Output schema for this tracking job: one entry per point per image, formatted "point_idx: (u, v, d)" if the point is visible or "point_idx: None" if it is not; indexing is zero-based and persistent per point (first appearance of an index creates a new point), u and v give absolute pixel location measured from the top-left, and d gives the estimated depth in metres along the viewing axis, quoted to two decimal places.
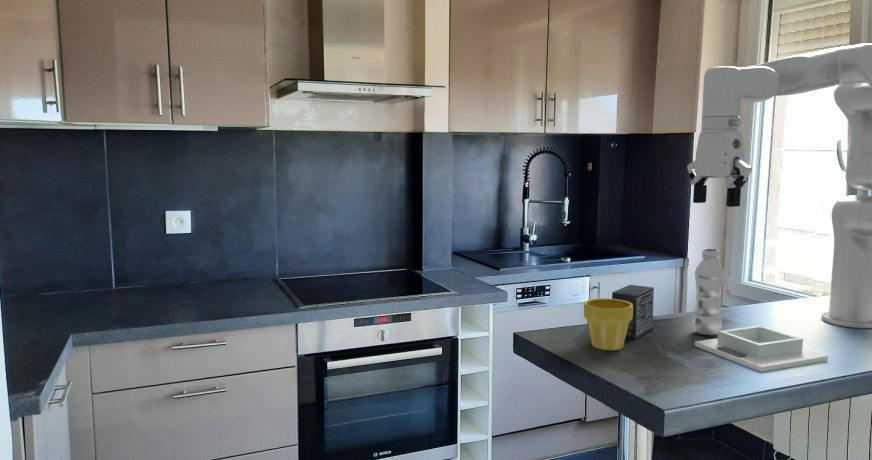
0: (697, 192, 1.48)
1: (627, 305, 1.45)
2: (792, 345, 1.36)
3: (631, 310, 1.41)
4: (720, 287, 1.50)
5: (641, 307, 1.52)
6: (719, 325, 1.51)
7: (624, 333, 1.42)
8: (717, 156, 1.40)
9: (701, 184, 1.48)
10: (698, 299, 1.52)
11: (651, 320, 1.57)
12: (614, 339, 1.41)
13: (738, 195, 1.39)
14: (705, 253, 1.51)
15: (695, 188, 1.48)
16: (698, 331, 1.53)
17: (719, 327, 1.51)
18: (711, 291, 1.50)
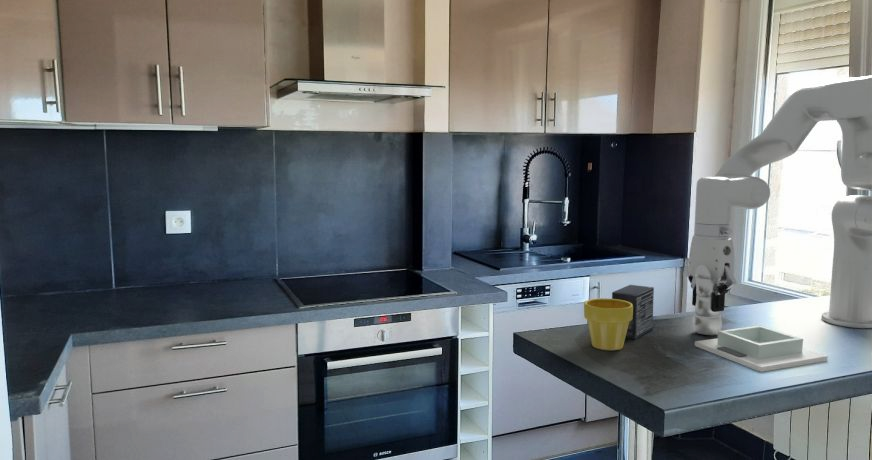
0: None
1: (627, 305, 1.45)
2: (792, 345, 1.36)
3: (631, 310, 1.41)
4: None
5: (641, 307, 1.52)
6: (719, 325, 1.51)
7: (624, 333, 1.42)
8: (709, 261, 1.49)
9: None
10: (698, 299, 1.52)
11: (651, 320, 1.57)
12: (614, 339, 1.41)
13: (722, 301, 1.49)
14: None
15: (694, 292, 1.55)
16: (698, 331, 1.53)
17: (719, 327, 1.51)
18: (711, 291, 1.50)
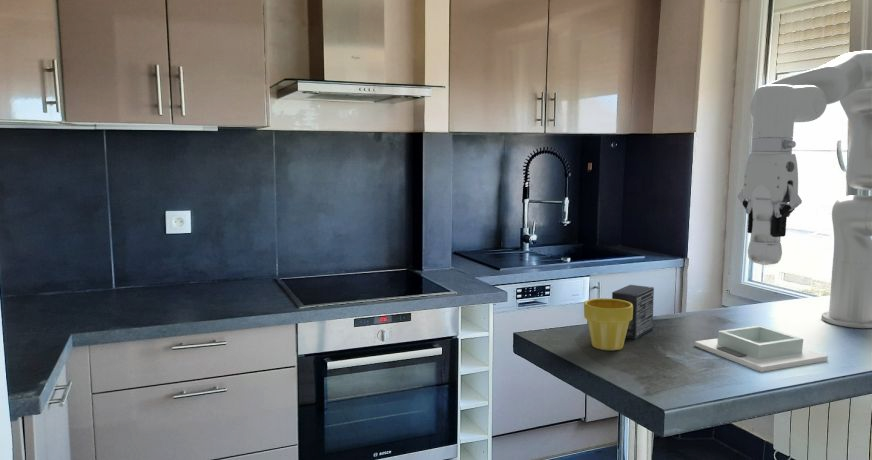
0: (752, 222, 1.39)
1: (627, 305, 1.45)
2: (792, 345, 1.36)
3: (631, 310, 1.41)
4: None
5: (641, 307, 1.52)
6: (779, 252, 1.35)
7: (624, 333, 1.42)
8: (769, 179, 1.33)
9: None
10: (755, 224, 1.36)
11: (651, 320, 1.57)
12: (614, 339, 1.41)
13: (784, 225, 1.33)
14: None
15: (750, 217, 1.39)
16: (755, 260, 1.36)
17: (779, 255, 1.35)
18: (770, 214, 1.34)
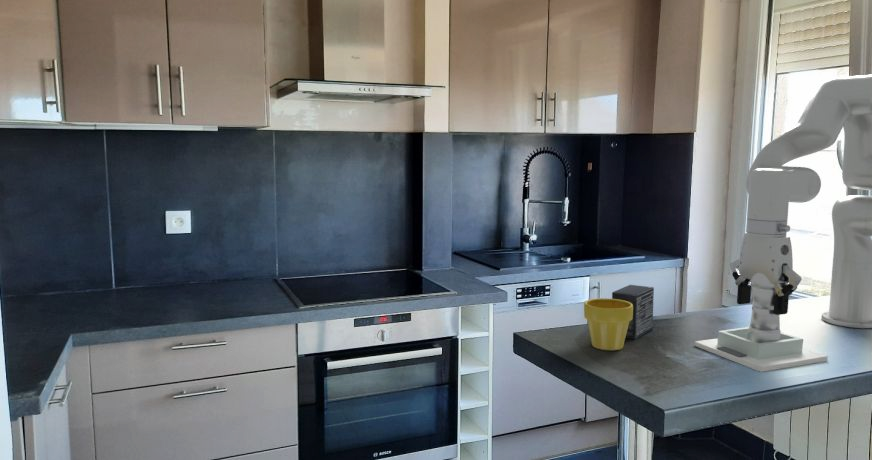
0: (741, 293, 1.42)
1: (627, 305, 1.45)
2: (792, 345, 1.36)
3: (631, 310, 1.41)
4: None
5: (641, 307, 1.52)
6: None
7: (624, 333, 1.42)
8: (764, 261, 1.35)
9: (745, 285, 1.43)
10: (755, 311, 1.37)
11: (651, 320, 1.57)
12: (614, 339, 1.41)
13: (786, 303, 1.33)
14: None
15: (739, 289, 1.42)
16: None
17: None
18: (770, 303, 1.35)
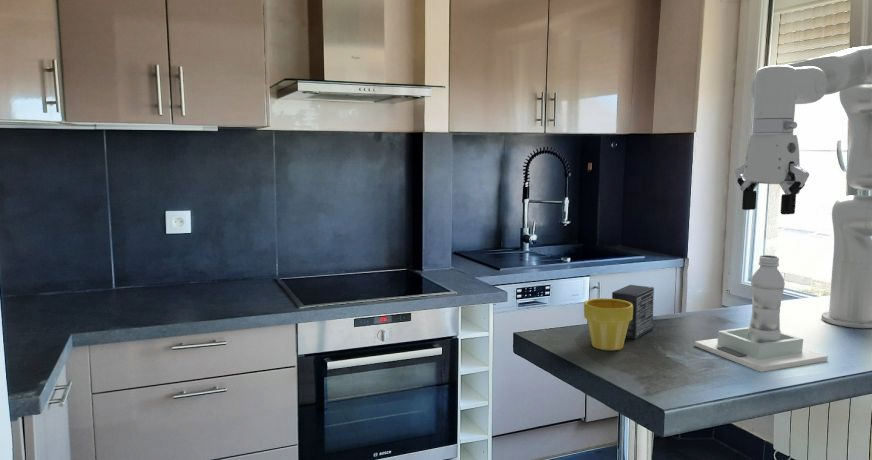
0: (746, 198, 1.40)
1: (627, 305, 1.45)
2: (792, 345, 1.36)
3: (631, 310, 1.41)
4: (780, 298, 1.36)
5: (641, 307, 1.52)
6: None
7: (624, 333, 1.42)
8: (770, 161, 1.32)
9: (751, 190, 1.40)
10: (755, 311, 1.37)
11: (651, 320, 1.57)
12: (614, 339, 1.41)
13: (793, 202, 1.31)
14: (763, 260, 1.36)
15: (744, 194, 1.40)
16: None
17: None
18: (770, 303, 1.35)
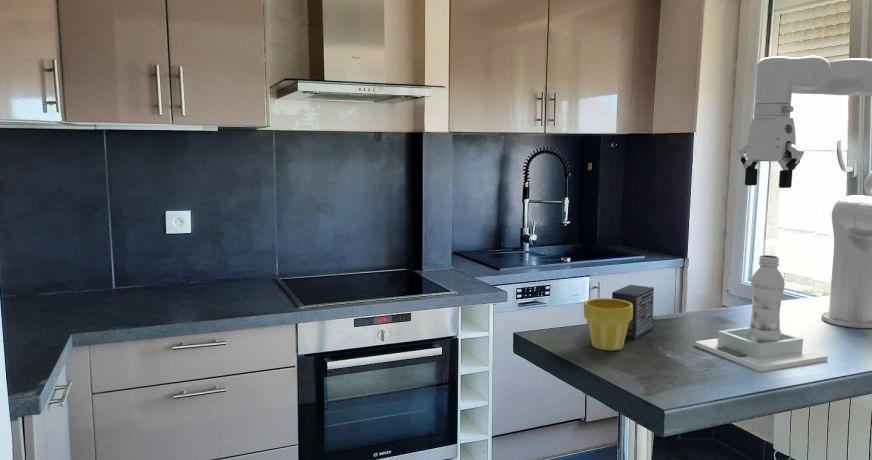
0: (749, 175, 1.58)
1: (627, 305, 1.45)
2: (792, 345, 1.36)
3: (631, 310, 1.41)
4: (780, 298, 1.36)
5: (641, 307, 1.52)
6: None
7: (624, 333, 1.42)
8: (770, 141, 1.50)
9: (752, 168, 1.58)
10: (755, 311, 1.37)
11: (651, 320, 1.57)
12: (614, 339, 1.41)
13: (790, 177, 1.49)
14: (763, 260, 1.36)
15: (747, 171, 1.57)
16: None
17: None
18: (770, 303, 1.35)
